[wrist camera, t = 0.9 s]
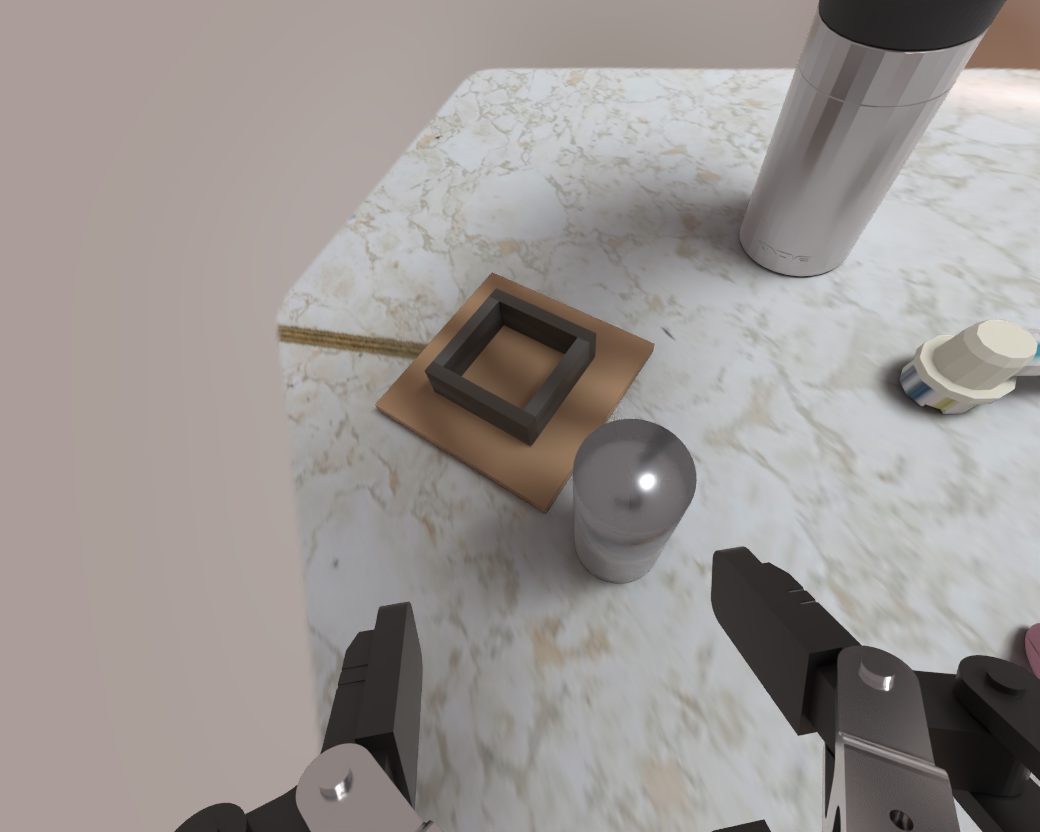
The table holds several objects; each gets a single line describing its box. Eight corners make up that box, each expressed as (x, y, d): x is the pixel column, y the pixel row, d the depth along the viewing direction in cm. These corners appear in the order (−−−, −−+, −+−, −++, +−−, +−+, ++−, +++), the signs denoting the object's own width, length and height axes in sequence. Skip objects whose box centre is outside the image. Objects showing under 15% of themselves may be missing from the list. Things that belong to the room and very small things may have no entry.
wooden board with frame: (493, 280, 46) (486, 246, 43) (652, 351, 41) (659, 319, 37) (379, 410, 41) (360, 384, 37) (545, 513, 35) (542, 494, 32)
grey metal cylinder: (600, 485, 36) (610, 400, 25) (674, 527, 34) (717, 453, 23) (558, 552, 34) (550, 490, 23) (634, 601, 32) (661, 556, 21)
